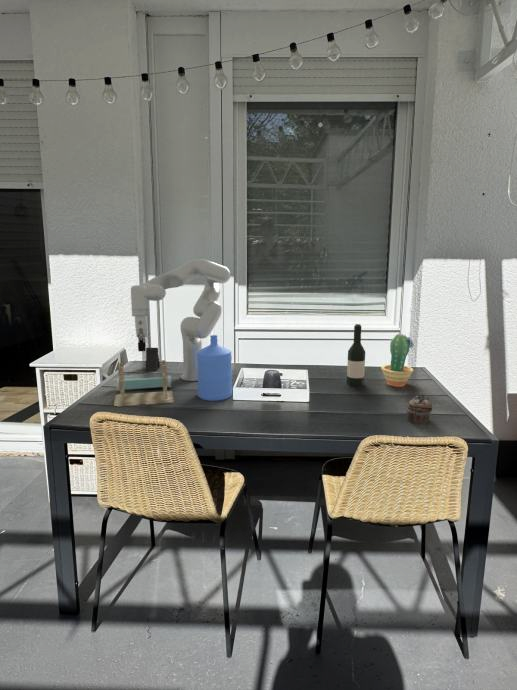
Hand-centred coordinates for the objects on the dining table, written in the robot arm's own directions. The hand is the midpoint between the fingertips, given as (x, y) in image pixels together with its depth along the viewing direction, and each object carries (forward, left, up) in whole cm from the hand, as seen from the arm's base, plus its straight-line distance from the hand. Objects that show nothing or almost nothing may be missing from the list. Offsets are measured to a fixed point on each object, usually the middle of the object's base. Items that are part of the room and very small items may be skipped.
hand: (141, 348), depth 229 cm
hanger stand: (0, +16, -20) cm, 25 cm away
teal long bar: (0, 0, -20) cm, 20 cm away
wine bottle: (-102, +14, -20) cm, 105 cm away
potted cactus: (-122, +18, -20) cm, 125 cm away
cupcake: (-107, +64, -20) cm, 126 cm away
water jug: (-32, +17, -20) cm, 41 cm away
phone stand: (-5, -36, -20) cm, 42 cm away
